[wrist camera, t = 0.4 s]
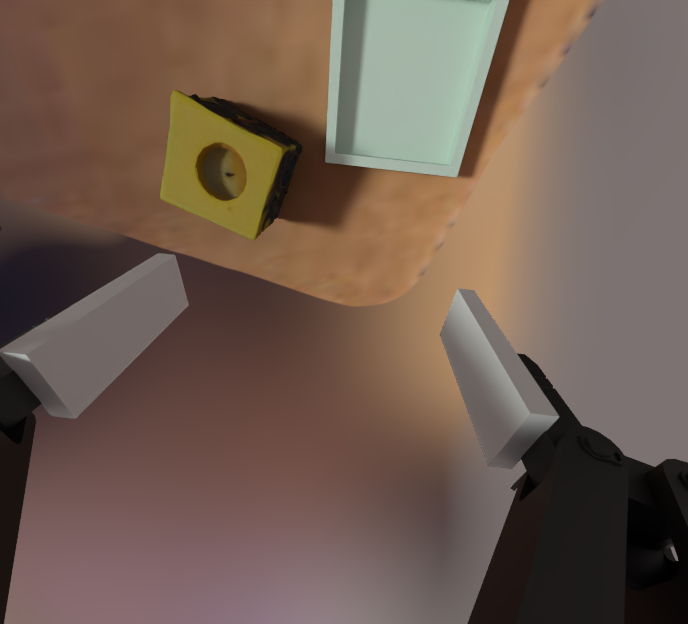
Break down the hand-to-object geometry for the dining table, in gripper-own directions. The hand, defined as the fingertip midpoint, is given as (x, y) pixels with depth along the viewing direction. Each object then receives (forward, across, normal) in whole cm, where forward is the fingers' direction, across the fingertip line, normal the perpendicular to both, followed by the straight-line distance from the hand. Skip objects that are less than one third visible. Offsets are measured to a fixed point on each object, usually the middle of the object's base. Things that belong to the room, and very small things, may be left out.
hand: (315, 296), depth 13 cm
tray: (+26, +5, +11) cm, 29 cm away
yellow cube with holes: (+27, -12, +2) cm, 29 cm away
